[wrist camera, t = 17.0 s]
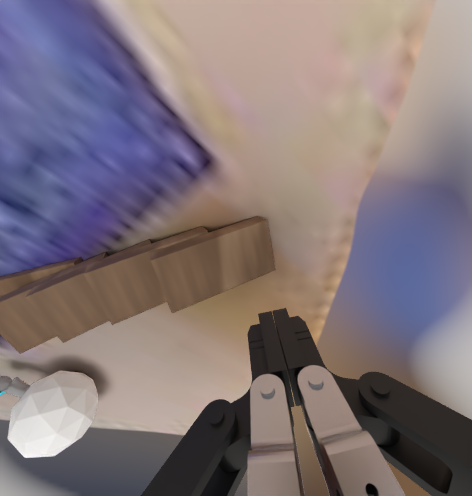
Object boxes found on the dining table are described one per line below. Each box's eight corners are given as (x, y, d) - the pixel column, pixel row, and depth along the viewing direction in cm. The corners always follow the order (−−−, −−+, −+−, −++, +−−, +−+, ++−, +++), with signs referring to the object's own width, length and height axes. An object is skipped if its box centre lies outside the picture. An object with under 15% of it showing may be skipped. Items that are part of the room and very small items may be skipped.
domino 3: (170, 281, 24) (67, 330, 22) (149, 239, 22) (33, 287, 20) (173, 289, 23) (63, 342, 20) (150, 244, 21) (24, 297, 18)
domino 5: (266, 262, 24) (169, 302, 21) (257, 216, 22) (149, 253, 19) (275, 269, 22) (172, 313, 19) (267, 219, 20) (150, 260, 17)
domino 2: (130, 292, 25) (28, 340, 22) (105, 252, 23) (-11, 300, 20) (130, 300, 23) (20, 353, 21) (103, 258, 21) (-23, 311, 19)
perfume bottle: (91, 442, 29) (-3, 411, 29) (121, 373, 31) (34, 343, 31) (51, 491, 22) (-77, 450, 21) (93, 397, 24) (-22, 357, 23)
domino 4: (215, 271, 24) (113, 313, 21) (201, 226, 22) (87, 265, 19) (221, 278, 22) (112, 324, 19) (207, 230, 20) (83, 274, 17)
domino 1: (106, 294, 25) (24, 313, 26) (84, 254, 23) (-5, 275, 24) (98, 304, 24) (10, 324, 25) (73, 262, 22) (-22, 285, 23)
